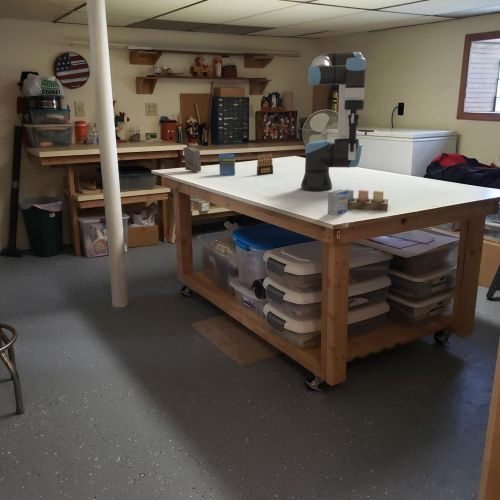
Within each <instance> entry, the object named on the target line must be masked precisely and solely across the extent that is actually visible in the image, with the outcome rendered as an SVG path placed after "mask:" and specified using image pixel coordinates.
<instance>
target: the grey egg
mask: <svg viewBox="0 0 500 500" xmlns="http://www.w3.org/2000/svg"><path fill="white" fill-rule="evenodd" d="M346 190H347V191H348V201H353V198H354V192H355V191H354V189H346Z"/></svg>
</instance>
